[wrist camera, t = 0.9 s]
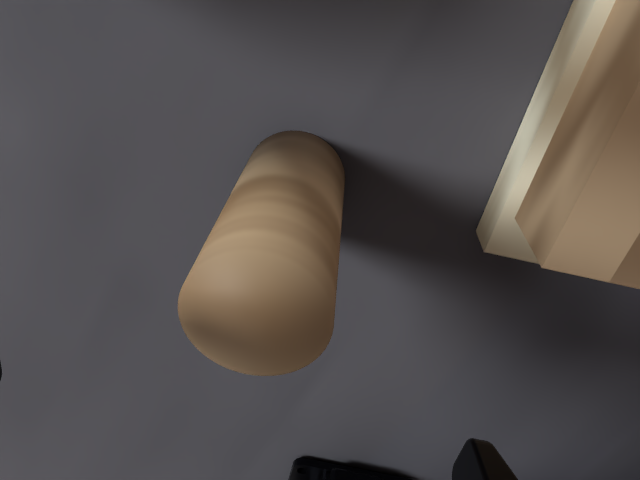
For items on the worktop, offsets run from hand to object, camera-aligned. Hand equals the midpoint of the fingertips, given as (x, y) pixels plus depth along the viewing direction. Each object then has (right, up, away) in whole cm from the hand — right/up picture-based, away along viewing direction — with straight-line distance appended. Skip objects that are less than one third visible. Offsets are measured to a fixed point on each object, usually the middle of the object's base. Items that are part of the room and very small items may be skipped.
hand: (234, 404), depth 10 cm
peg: (+1, +5, +9) cm, 10 cm away
